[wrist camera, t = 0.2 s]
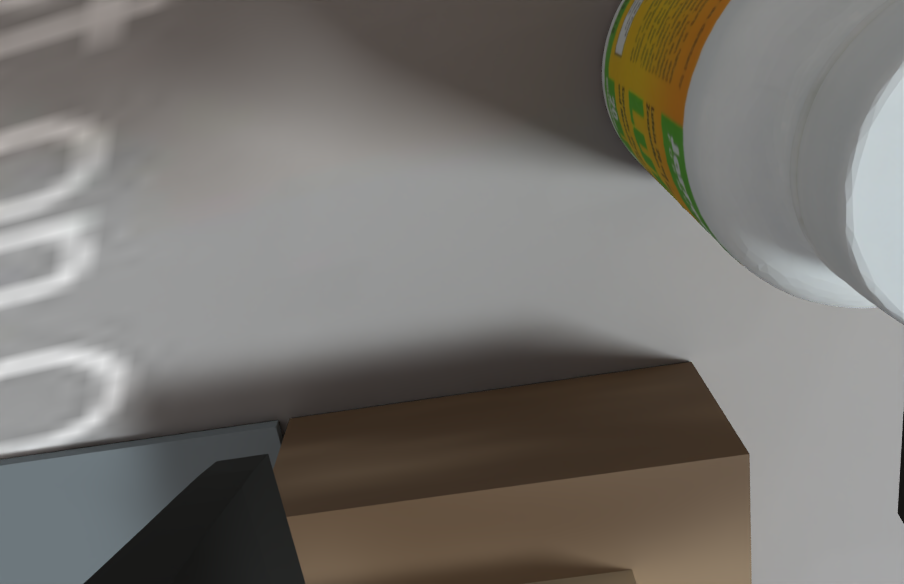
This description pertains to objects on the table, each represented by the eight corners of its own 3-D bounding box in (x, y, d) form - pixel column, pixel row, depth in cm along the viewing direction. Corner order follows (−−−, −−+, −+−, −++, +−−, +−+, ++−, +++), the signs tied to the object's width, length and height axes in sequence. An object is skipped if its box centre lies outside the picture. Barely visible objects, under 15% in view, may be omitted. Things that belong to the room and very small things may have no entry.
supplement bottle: (544, 81, 17) (660, 212, 8) (729, -140, 16) (1118, -278, 7) (721, 233, 19) (985, 487, 10) (906, 42, 17) (1430, 132, 8)
